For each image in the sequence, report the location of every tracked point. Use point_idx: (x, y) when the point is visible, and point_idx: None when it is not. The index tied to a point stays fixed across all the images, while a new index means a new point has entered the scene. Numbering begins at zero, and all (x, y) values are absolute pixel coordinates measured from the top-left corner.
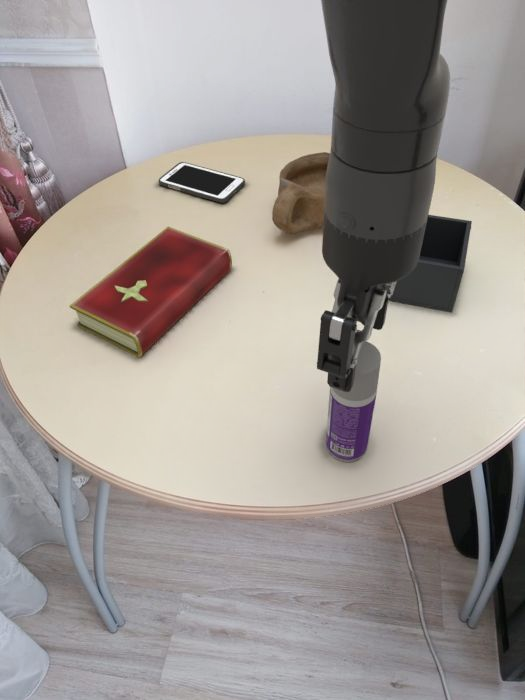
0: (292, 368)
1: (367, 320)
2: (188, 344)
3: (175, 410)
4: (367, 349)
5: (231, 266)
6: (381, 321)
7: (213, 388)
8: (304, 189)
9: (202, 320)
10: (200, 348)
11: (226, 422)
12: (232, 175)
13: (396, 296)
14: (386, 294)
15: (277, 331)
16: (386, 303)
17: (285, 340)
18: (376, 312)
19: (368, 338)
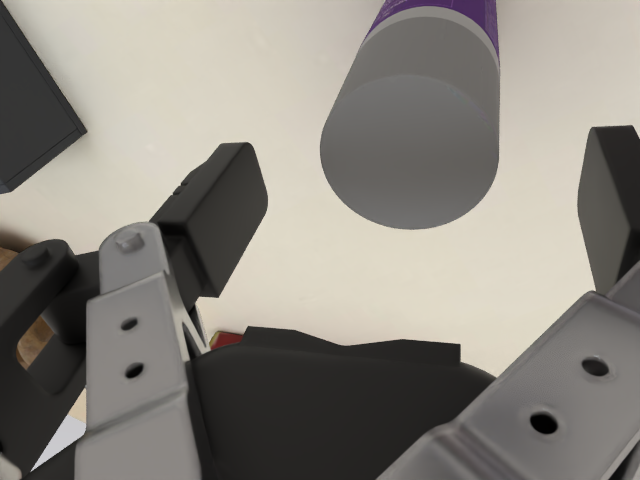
0: (325, 182)
1: (614, 469)
2: (378, 327)
3: (511, 298)
4: (355, 143)
5: (214, 336)
6: (232, 165)
7: (439, 270)
8: (20, 346)
9: (325, 328)
10: (375, 312)
11: (499, 226)
12: (85, 386)
13: (47, 93)
14: (170, 272)
15: (270, 235)
16: (184, 219)
17: (278, 217)
18: (507, 452)
19: (631, 319)
